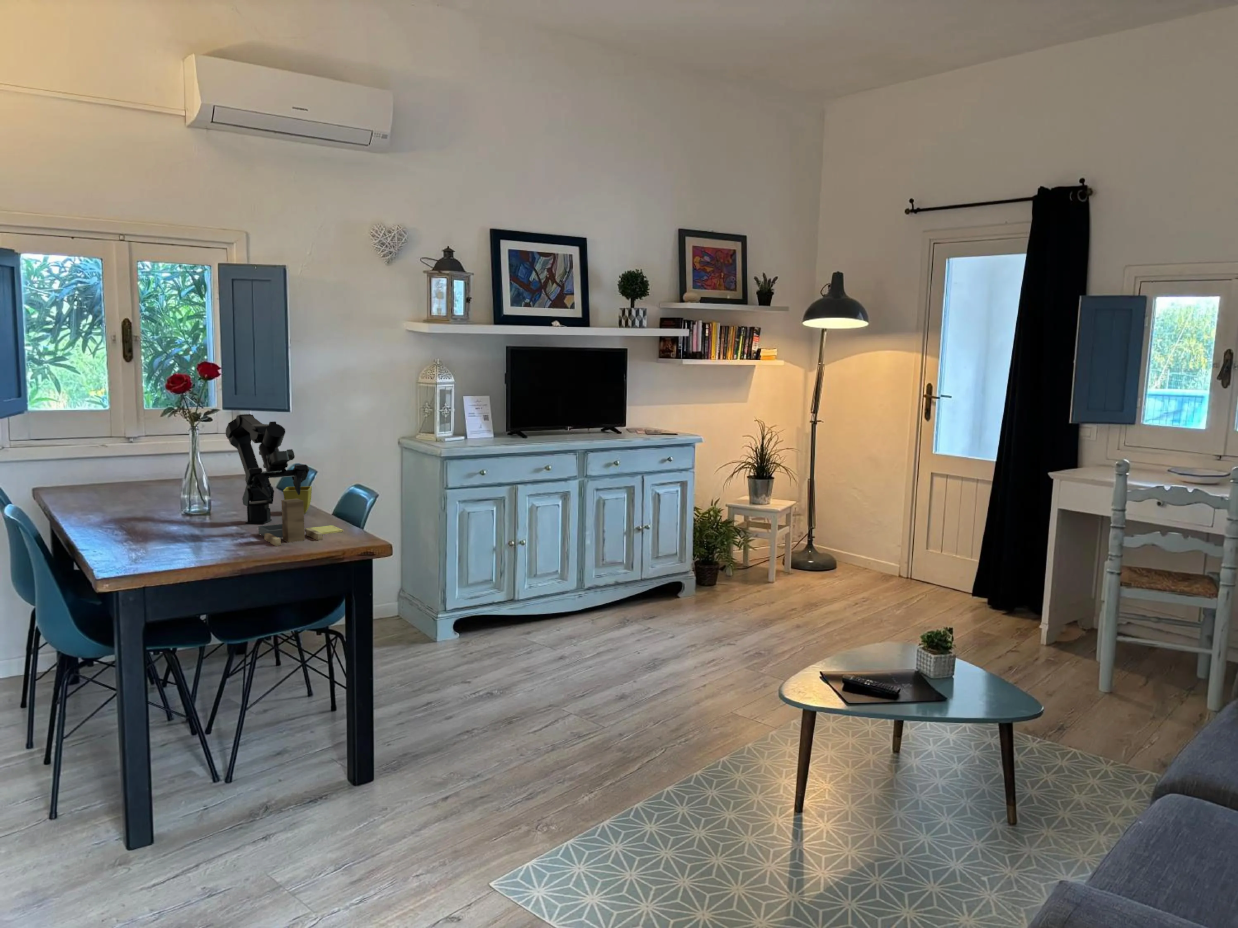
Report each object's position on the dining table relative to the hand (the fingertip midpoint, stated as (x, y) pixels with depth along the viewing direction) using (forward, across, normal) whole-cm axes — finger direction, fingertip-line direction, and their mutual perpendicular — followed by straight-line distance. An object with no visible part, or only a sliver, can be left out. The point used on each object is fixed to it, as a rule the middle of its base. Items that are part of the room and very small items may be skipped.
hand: (284, 495), depth 283 cm
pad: (+9, +12, +10) cm, 18 cm away
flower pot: (-16, +17, +34) cm, 41 cm away
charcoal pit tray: (+7, -2, +12) cm, 14 cm away
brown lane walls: (+14, 0, +4) cm, 15 cm away
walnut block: (+14, 0, +4) cm, 15 cm away
